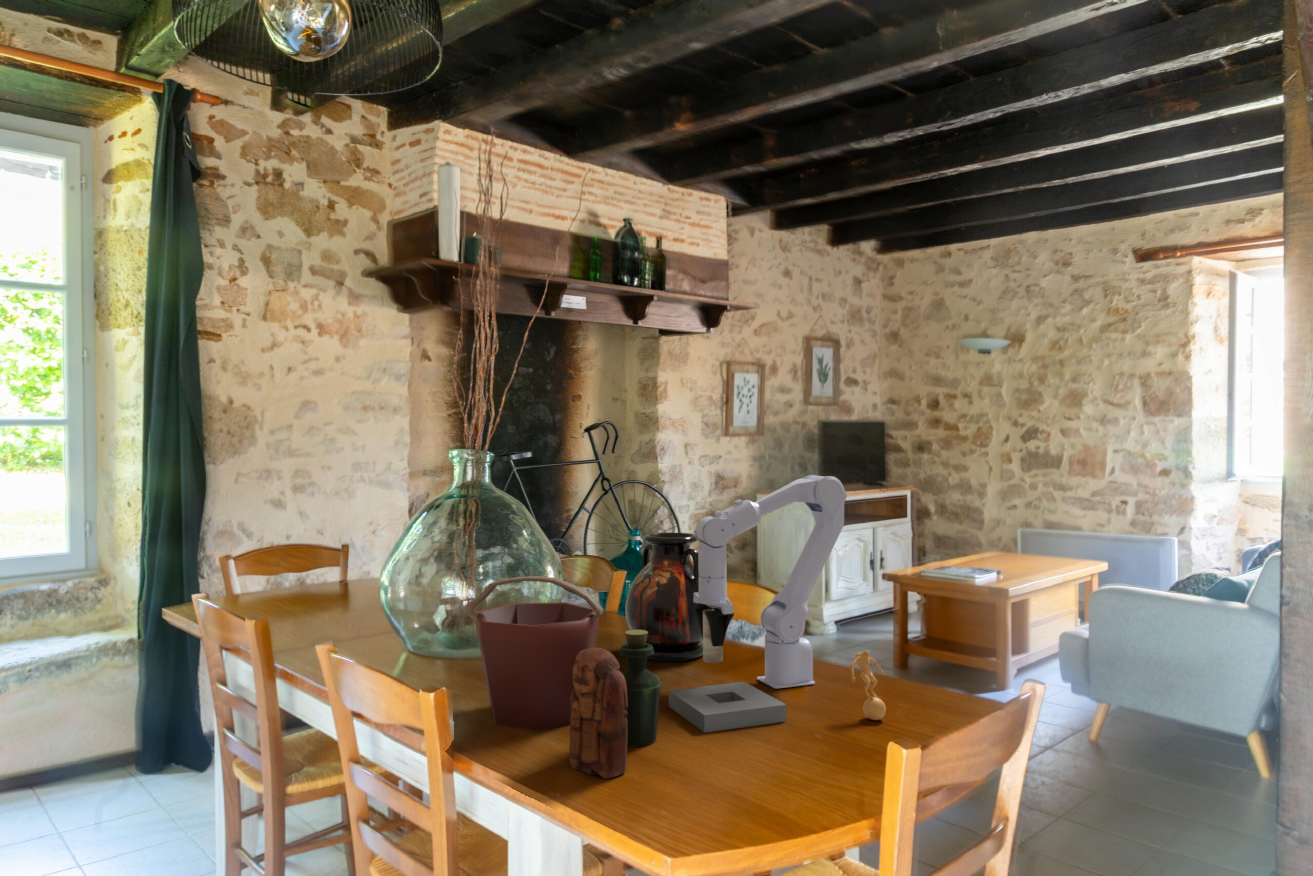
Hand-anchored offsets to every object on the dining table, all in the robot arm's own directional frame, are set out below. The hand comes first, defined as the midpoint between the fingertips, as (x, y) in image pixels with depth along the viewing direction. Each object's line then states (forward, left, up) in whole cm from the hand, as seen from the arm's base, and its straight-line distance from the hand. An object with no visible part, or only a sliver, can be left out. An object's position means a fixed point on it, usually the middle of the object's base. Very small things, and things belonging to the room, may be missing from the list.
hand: (712, 643), depth 175 cm
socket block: (+5, +16, -9) cm, 19 cm away
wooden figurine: (+35, +32, -9) cm, 48 cm away
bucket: (+37, +3, -9) cm, 38 cm away
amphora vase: (-3, -29, -9) cm, 31 cm away
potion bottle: (+25, +23, -9) cm, 35 cm away
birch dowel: (0, 0, -3) cm, 3 cm away
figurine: (-18, +28, -9) cm, 35 cm away
